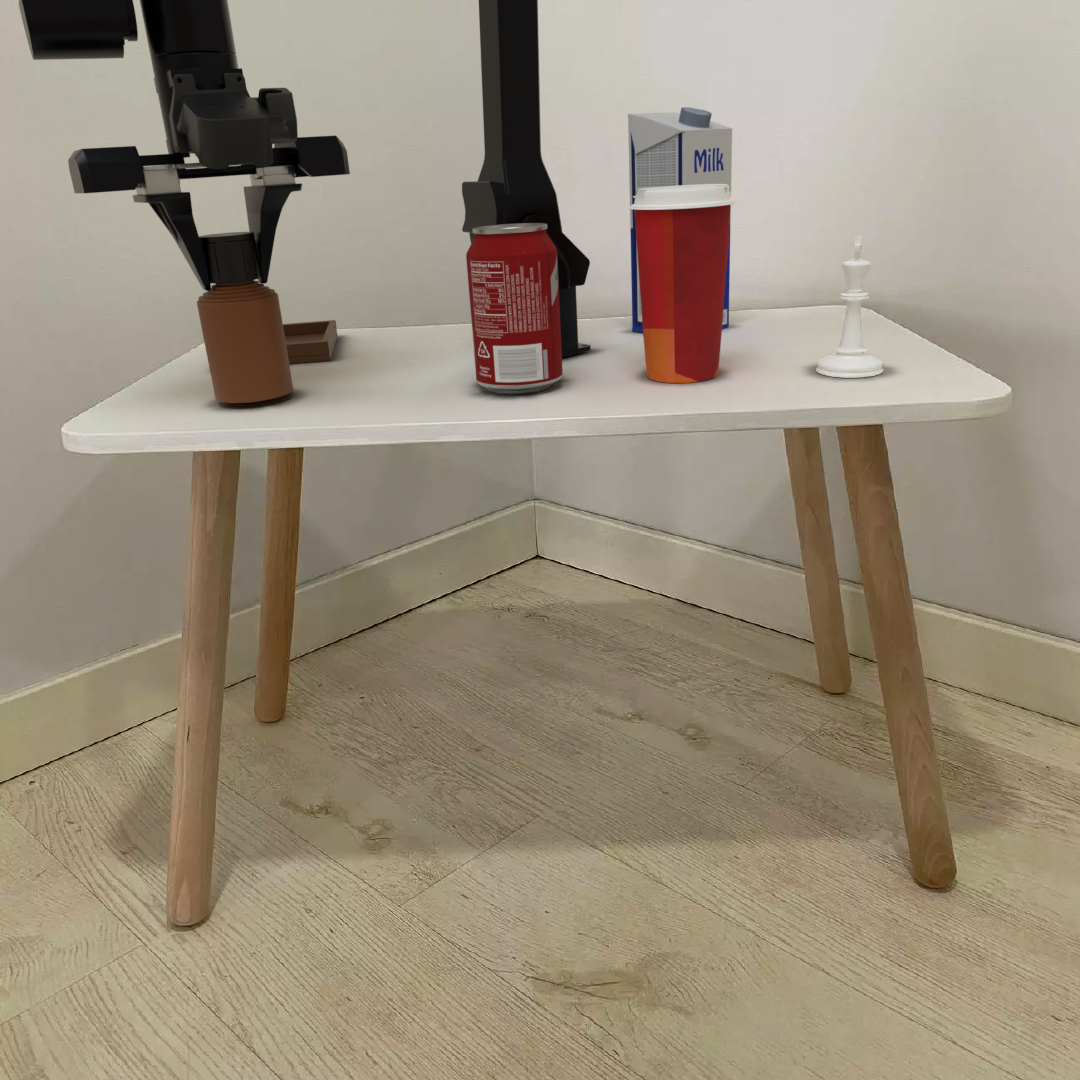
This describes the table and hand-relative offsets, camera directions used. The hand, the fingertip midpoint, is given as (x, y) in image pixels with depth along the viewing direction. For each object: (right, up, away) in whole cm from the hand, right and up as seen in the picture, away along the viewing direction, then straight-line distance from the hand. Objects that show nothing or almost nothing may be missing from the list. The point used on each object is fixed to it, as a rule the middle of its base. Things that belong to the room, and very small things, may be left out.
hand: (235, 286), depth 72 cm
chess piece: (+47, -6, +1) cm, 47 cm away
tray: (-3, -1, +22) cm, 23 cm away
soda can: (+22, -7, +2) cm, 23 cm away
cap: (0, 0, 0) cm, 1 cm away
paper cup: (+34, -6, +3) cm, 35 cm away
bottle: (+1, -8, +3) cm, 8 cm away
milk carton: (+37, +1, +22) cm, 43 cm away
